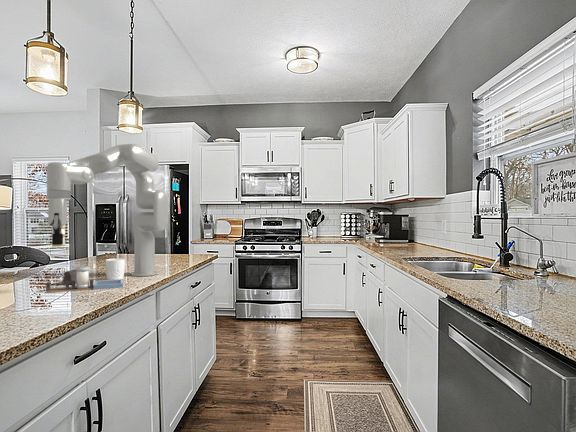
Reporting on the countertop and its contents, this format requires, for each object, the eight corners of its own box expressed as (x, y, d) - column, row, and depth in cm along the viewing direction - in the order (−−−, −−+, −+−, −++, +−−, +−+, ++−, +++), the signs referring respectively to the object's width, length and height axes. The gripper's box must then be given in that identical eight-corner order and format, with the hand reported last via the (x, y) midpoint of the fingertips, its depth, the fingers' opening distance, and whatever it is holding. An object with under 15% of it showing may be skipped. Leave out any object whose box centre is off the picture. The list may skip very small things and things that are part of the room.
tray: (95, 288, 139) (95, 281, 139) (122, 286, 143) (122, 279, 143) (93, 293, 130) (93, 285, 130) (122, 291, 134) (122, 283, 134)
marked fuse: (52, 245, 130) (53, 224, 130) (66, 245, 132) (66, 224, 132) (50, 246, 126) (51, 225, 126) (64, 246, 128) (64, 224, 128)
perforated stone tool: (78, 282, 152) (78, 266, 153) (90, 282, 153) (91, 266, 153) (58, 289, 138) (58, 272, 138) (72, 289, 138) (72, 271, 138)
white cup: (105, 280, 156) (106, 258, 156) (125, 279, 160) (125, 258, 160) (104, 283, 149) (104, 260, 149) (124, 282, 152) (125, 259, 153)
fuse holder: (49, 292, 132) (49, 280, 132) (93, 288, 139) (93, 277, 139) (43, 297, 123) (44, 284, 123) (91, 293, 130) (92, 281, 130)
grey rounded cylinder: (76, 287, 133) (77, 266, 134) (89, 286, 135) (89, 266, 135) (75, 289, 130) (75, 268, 130) (88, 288, 132) (88, 267, 132)
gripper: (51, 196, 135) (50, 242, 135) (42, 194, 120) (41, 246, 120) (73, 197, 139) (73, 242, 138) (67, 194, 123) (67, 245, 123)
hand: (58, 243), depth 129 cm, fingers closed on marked fuse, 4 cm apart
